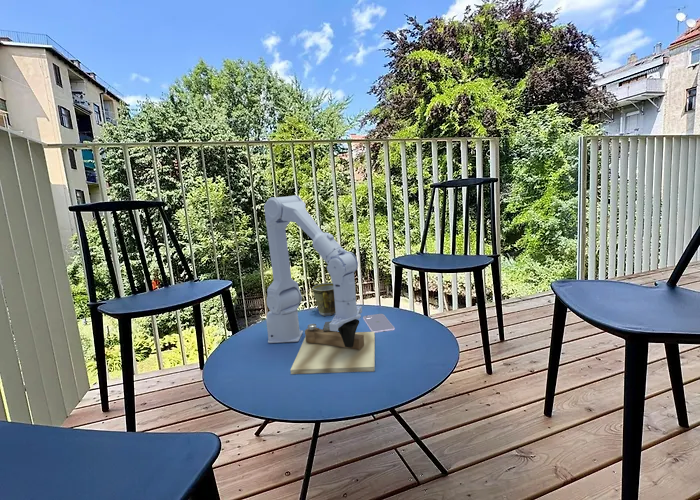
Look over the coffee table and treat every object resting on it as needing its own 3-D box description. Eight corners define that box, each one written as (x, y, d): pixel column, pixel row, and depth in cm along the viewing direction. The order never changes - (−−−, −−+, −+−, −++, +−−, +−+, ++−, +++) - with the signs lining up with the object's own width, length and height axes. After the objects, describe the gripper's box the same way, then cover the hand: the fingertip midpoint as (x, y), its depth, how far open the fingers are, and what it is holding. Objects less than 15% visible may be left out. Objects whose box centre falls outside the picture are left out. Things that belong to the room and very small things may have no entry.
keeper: (307, 343, 107) (306, 328, 106) (311, 335, 113) (310, 320, 113) (341, 342, 107) (340, 326, 106) (343, 333, 113) (342, 318, 112)
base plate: (290, 374, 93) (290, 369, 93) (306, 338, 115) (306, 334, 114) (374, 371, 91) (374, 366, 91) (374, 335, 113) (374, 331, 113)
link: (302, 341, 108) (301, 332, 108) (311, 336, 112) (310, 326, 112) (358, 350, 100) (357, 340, 99) (365, 344, 103) (364, 334, 103)
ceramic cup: (316, 308, 141) (314, 283, 140) (342, 307, 141) (340, 281, 139) (312, 321, 129) (309, 293, 127) (340, 319, 128) (338, 291, 126)
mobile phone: (372, 331, 114) (362, 315, 129) (372, 334, 115) (362, 318, 129) (395, 327, 116) (383, 312, 130) (396, 330, 116) (383, 315, 130)
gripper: (345, 308, 90) (349, 360, 92) (370, 291, 103) (373, 338, 105) (320, 306, 93) (325, 356, 96) (348, 290, 106) (351, 334, 108)
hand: (348, 346), depth 101 cm, fingers closed
